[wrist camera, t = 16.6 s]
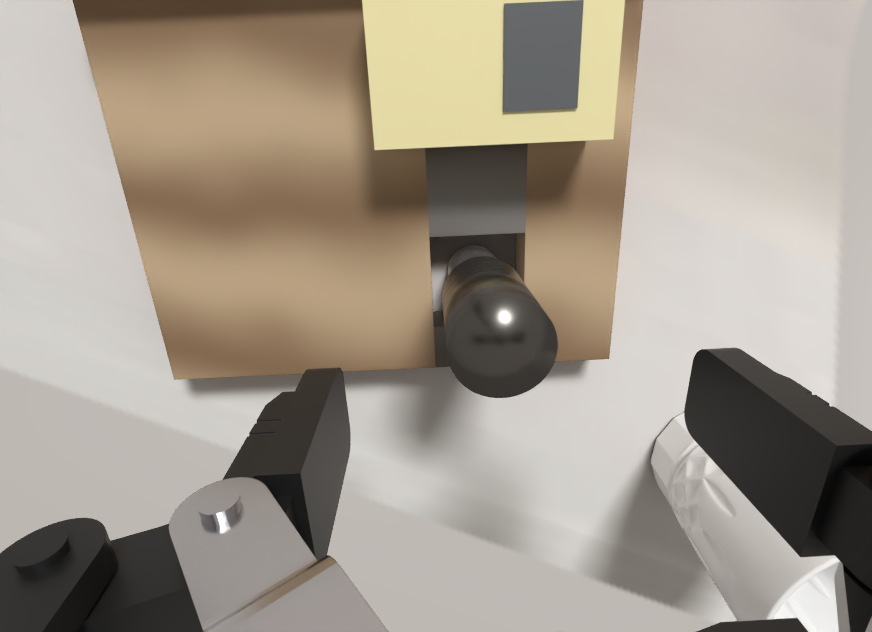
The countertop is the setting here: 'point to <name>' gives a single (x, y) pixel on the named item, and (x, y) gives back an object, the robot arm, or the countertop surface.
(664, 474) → the white cup
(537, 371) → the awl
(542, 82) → the stud finder
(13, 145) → the countertop surface
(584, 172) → the board
